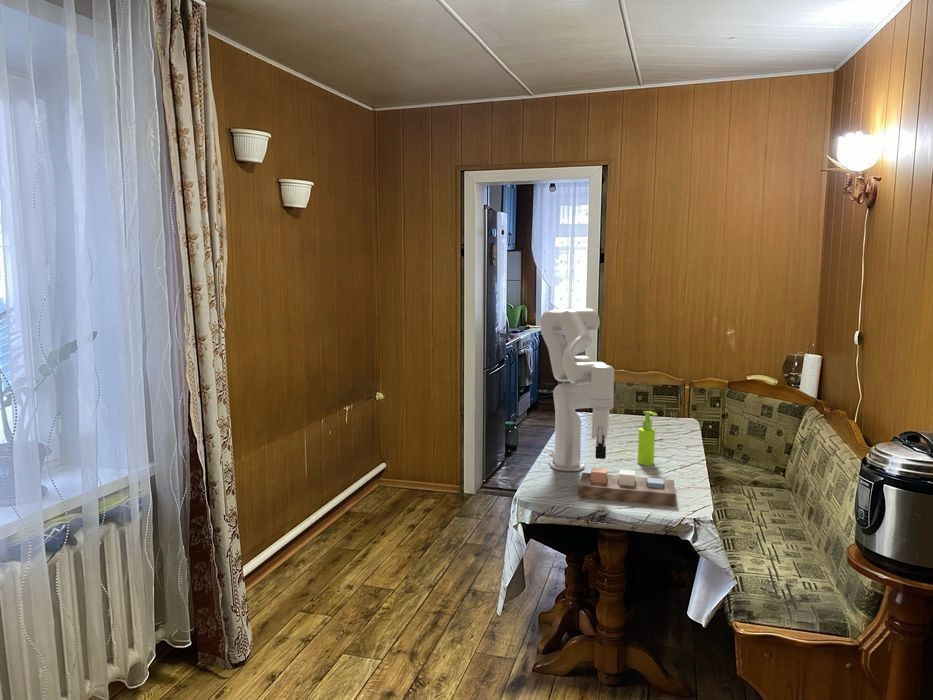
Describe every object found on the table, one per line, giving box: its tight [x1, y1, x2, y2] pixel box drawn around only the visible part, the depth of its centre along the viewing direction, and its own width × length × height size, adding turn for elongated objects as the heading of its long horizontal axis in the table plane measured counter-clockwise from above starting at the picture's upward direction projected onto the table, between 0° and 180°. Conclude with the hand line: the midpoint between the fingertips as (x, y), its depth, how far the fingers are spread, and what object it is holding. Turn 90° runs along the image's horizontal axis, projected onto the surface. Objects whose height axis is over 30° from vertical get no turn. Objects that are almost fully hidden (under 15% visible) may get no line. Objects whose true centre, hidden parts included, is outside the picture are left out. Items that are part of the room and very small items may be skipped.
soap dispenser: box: [637, 410, 658, 466], centre depth 252 cm, size 6×7×20 cm
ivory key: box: [618, 469, 636, 486], centre depth 218 cm, size 5×5×4 cm
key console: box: [577, 472, 677, 507], centre depth 219 cm, size 30×14×4 cm, turn 75°
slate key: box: [646, 477, 664, 489], centre depth 216 cm, size 5×5×4 cm
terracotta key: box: [590, 466, 608, 484], centre depth 221 cm, size 5×5×4 cm
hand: (600, 458), depth 219 cm, fingers closed
